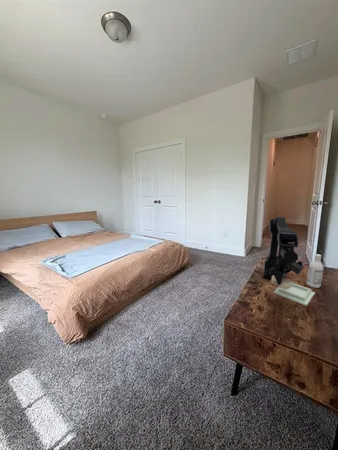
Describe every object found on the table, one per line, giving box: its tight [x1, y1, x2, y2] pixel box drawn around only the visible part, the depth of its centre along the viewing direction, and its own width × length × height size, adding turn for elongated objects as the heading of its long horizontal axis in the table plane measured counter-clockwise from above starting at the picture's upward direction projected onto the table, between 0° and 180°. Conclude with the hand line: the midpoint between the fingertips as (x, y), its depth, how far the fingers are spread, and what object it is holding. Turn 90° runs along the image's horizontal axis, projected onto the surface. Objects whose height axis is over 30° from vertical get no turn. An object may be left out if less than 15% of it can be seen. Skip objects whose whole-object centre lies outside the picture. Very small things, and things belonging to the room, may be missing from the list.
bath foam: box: [306, 253, 324, 289], centre depth 115 cm, size 7×7×20 cm
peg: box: [270, 276, 293, 290], centre depth 99 cm, size 8×4×4 cm, turn 27°
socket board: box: [273, 282, 316, 307], centre depth 109 cm, size 16×16×3 cm
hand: (280, 283), depth 99 cm, fingers closed on peg, 4 cm apart
